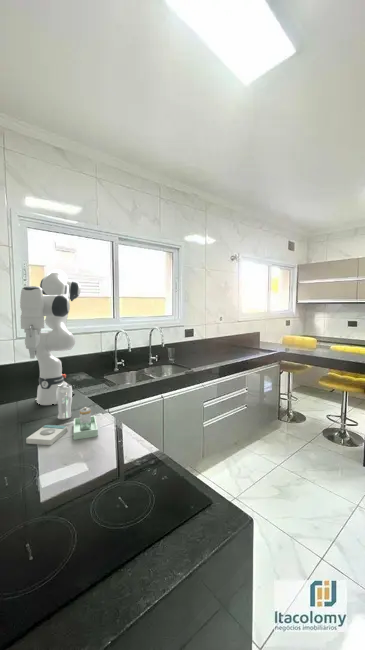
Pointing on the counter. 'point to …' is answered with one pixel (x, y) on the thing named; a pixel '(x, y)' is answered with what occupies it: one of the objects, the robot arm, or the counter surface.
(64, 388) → the clear plastic bottle
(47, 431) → the white flat block
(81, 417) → the cell
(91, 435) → the trough
